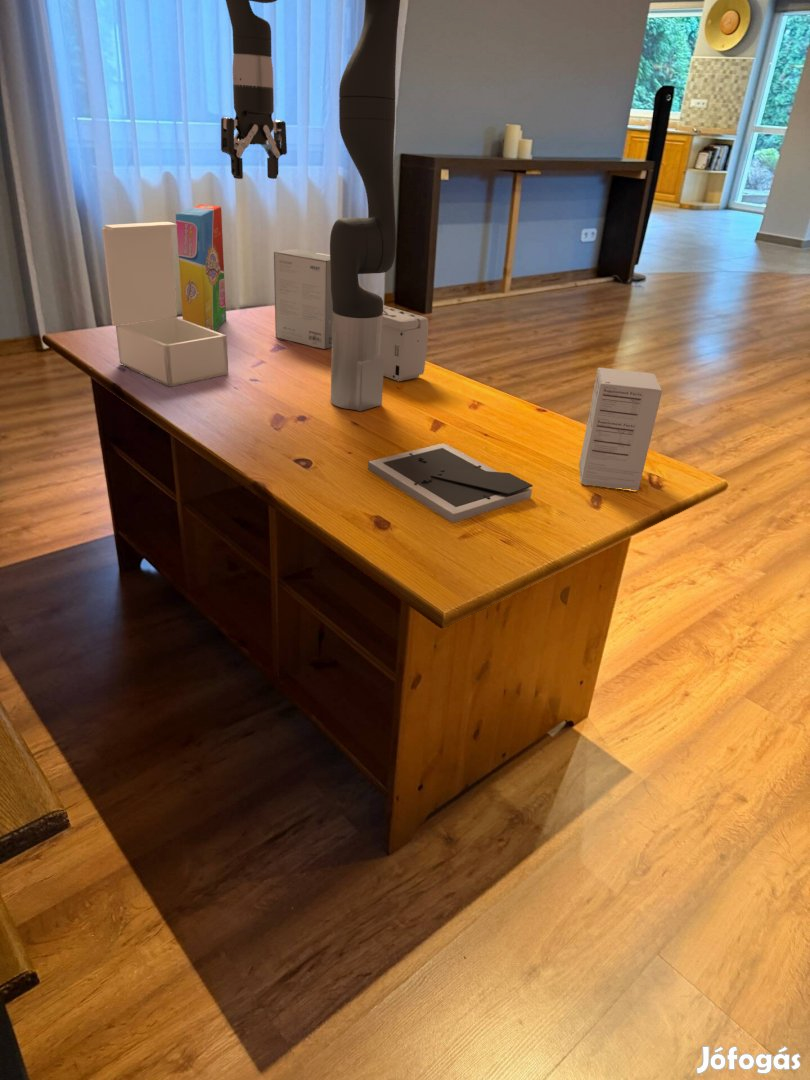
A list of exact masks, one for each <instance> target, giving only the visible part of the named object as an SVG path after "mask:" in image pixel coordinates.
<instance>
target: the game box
mask: <svg viewBox="0 0 810 1080" xmlns="http://www.w3.org/2000/svg"><path fill="white" fill-rule="evenodd" d="M175 224H177V227H176V239H177V240H176V241H177V252H178V254H177V255H178V269H179V282H180V297H181V313H182V314H181V315H182V319H183V320H186V321H189V322H191V323H194V324H197V325H199V326H202V327H205V328H208V329H210V330H213V331H217V330H218V329H219V328H220V327H221V326H220V325H221V324H222V323H223V322H224V321H225V320H227V308H226V307H227V306H226V287H225V286H226V284H225V263H224V243H223V241H224V240H223V236H224V235H223V217H222V206H221V205H212V204H210V205H209V204H198V205H196V206H193V207H191V208H189V209H186V210H184V211H183V210H182V211H180V212H177V213H175ZM225 322H226V321H225ZM225 322H224V323H225ZM224 323H223V324H224ZM219 326H220V327H219ZM218 327H219V328H218ZM217 328H218V329H217Z"/></svg>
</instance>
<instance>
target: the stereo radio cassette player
mask: <svg viewBox="0 0 810 1080" xmlns="http://www.w3.org/2000/svg"><path fill="white" fill-rule="evenodd" d="M359 286H360V287H361V288H362V289H364V290H366V288H364V286H362V284H361V283H360V282H359ZM428 336H429V319H428V318H427V317H425V316H422V315H418V314H415V313H412V312H408V311H405V310H401V309H397V308H395V307H392V306H387V305H384V304H383V319H382V337H381V356H383V357H384V375H383V377H386V378H388V379H391V380H394V381H398V382H399V381H400V382H401V381H407V380H411V379H417V378H419V377H420V375H421V376H422V375H424V373H425V367H426V361H427V351H428V338H429V337H428ZM398 382H397V383H398ZM400 382H399V383H400Z"/></svg>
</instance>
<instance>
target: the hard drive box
mask: <svg viewBox="0 0 810 1080" xmlns="http://www.w3.org/2000/svg"><path fill="white" fill-rule="evenodd" d="M273 271H274V273H273V274H274V275H273V276H274V277H273V278H274V280H273V281H274V320H275V321H274V323H275V329H274V330H275V338H278V339H282V340H285V341H288V342H293V343H298V344H300V345H301V344H303V345H306V346H309V347H312V348H318V349H321V350H326V349H327V350H328V349H330V348H332V315H333V302H332V294H331V267H330V254H327V253H321V252H315V251H308V250H301V249H295V248H292V249H290V248H289V249H285V250H278V251H274V252H273Z"/></svg>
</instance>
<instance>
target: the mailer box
mask: <svg viewBox="0 0 810 1080" xmlns="http://www.w3.org/2000/svg"><path fill="white" fill-rule="evenodd" d="M115 332H116V340H117V349H118V358H119V364H120V363H121V364H123V365H125V366H127V367H129V368H131V369H133V370H135V371H134V372H136V371H137V372H136V373H138V372H139V373H138V374H140V373H142V374H144V375H146V376H148V377H147V378H149V377H150V378H149V379H151V378H152V379H151V380H153V379H154V380H153V381H155V380H157V381H159V382H160V383H159V382H158V383H159V384H161V383H163V384H162V385H164V384H165V385H164V386H166V385H167V386H166V387H168V386H172V387H175V386H174V385H176V386H180V385H179V384H181V385H184V384H185V383H186V384H190V383H194V382H199V381H203V380H208V379H212V378H217V377H221V376H225V375H229V360H228V358H229V357H228V355H229V354H228V339H227V337H228V336H227V335H226V334H223V333H220V332H218V331H217V330H215V331H213V330H210V329H208V328H205V327H202V326H199V325H197V324H194V323H191V322H189V321H186V320H183V318H180V317H177V316H176V317H169V318H162V319H156V320H149V321H142V322H135V323H129V324H122V325H115ZM123 365H122V366H123ZM125 366H124V367H125ZM127 367H126V368H127ZM129 368H128V369H129ZM131 369H130V370H131ZM133 370H132V371H133ZM142 374H141V375H142ZM144 375H143V376H144ZM146 376H145V377H146ZM157 381H156V382H157Z"/></svg>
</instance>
